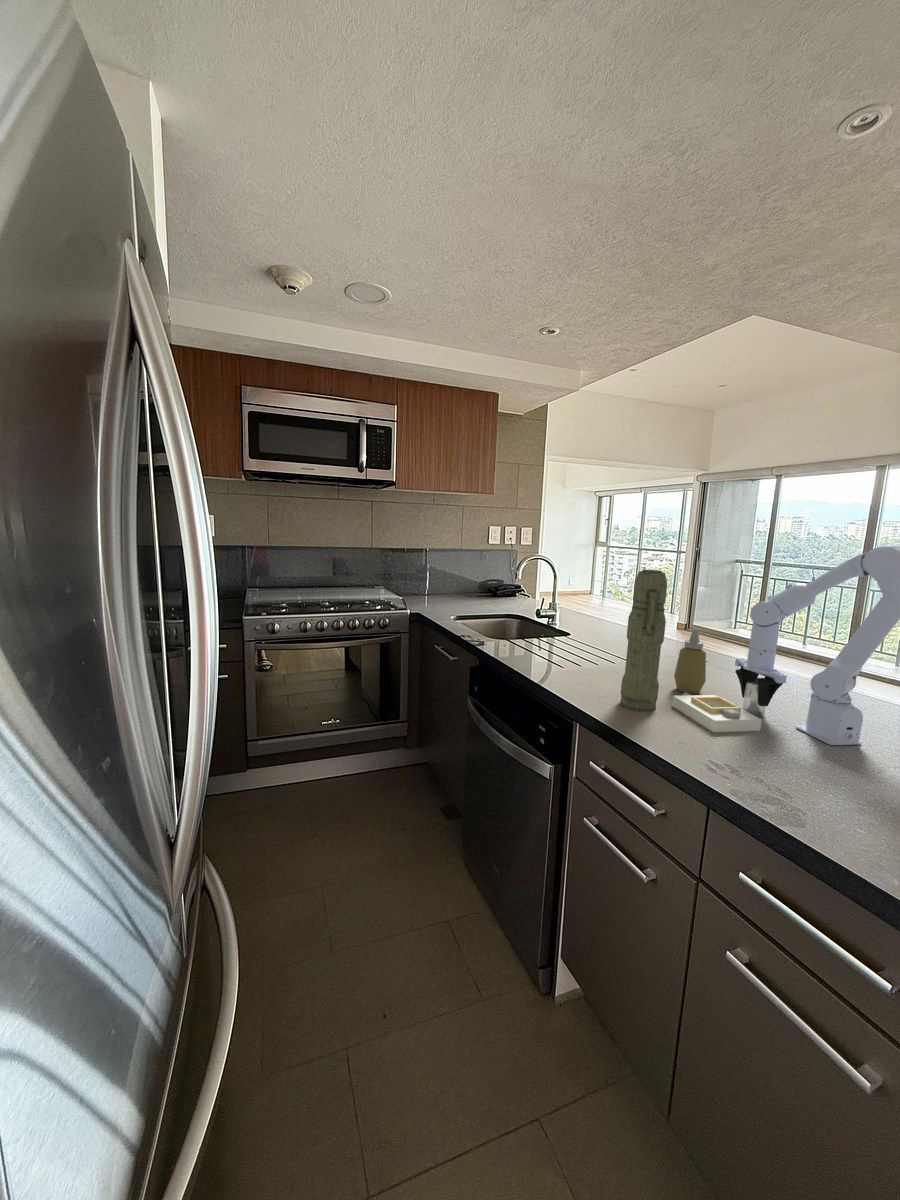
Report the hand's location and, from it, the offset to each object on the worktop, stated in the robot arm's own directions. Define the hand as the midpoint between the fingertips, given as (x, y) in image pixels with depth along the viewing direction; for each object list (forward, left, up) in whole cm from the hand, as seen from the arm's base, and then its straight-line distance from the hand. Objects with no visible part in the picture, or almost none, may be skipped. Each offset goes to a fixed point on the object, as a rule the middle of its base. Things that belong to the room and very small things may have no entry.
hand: (754, 701), depth 124 cm
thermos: (+7, +28, -3) cm, 29 cm away
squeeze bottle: (+17, +6, -3) cm, 19 cm away
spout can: (0, 0, -3) cm, 3 cm away
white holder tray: (0, +13, -3) cm, 13 cm away
